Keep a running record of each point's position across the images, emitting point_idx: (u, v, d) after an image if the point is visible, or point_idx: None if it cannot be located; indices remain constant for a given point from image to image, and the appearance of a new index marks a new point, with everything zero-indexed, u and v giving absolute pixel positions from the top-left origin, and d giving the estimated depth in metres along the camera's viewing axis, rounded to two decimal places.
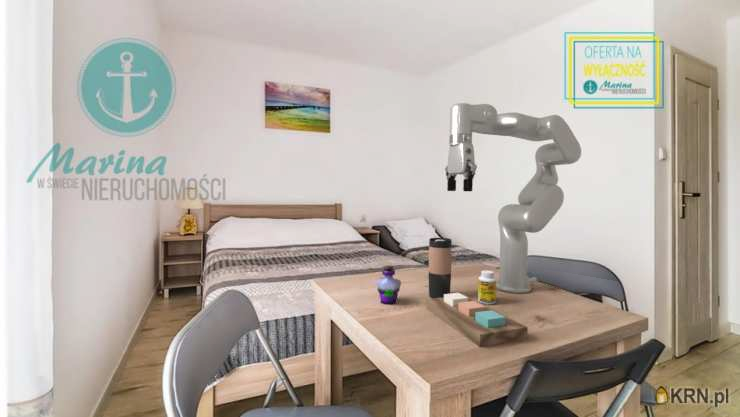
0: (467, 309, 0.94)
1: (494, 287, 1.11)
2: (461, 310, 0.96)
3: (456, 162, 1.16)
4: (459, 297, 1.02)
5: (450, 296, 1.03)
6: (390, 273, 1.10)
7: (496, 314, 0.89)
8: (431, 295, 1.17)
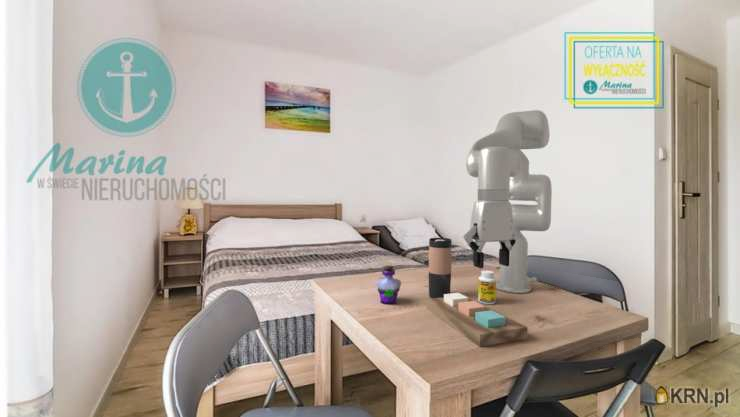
0: (467, 309, 0.94)
1: (494, 287, 1.11)
2: (461, 310, 0.96)
3: (503, 226, 0.85)
4: (459, 297, 1.02)
5: (450, 296, 1.03)
6: (390, 273, 1.11)
7: (496, 314, 0.89)
8: (431, 295, 1.17)
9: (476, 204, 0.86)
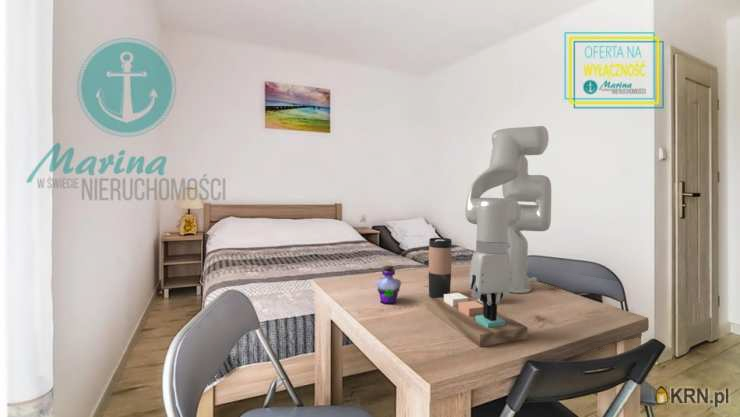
0: (467, 309, 0.94)
1: None
2: (461, 310, 0.96)
3: (502, 278, 0.86)
4: (459, 297, 1.02)
5: (450, 296, 1.03)
6: (390, 273, 1.10)
7: (496, 318, 0.89)
8: (431, 295, 1.17)
9: (475, 256, 0.86)
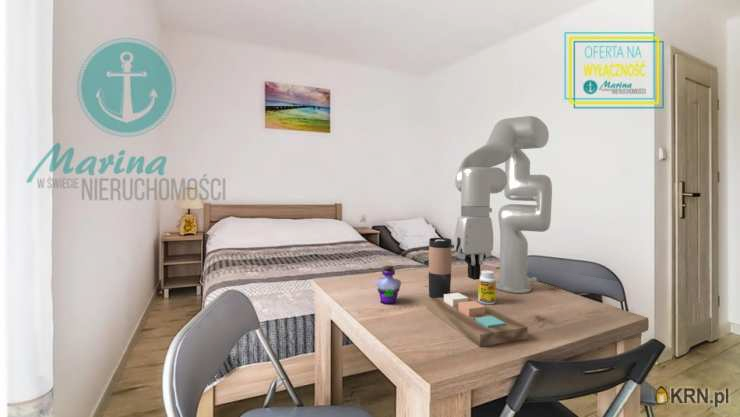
0: (467, 309, 0.94)
1: (494, 287, 1.11)
2: (461, 310, 0.96)
3: (484, 240, 0.93)
4: (459, 297, 1.02)
5: (450, 296, 1.03)
6: (390, 273, 1.10)
7: (496, 320, 0.89)
8: (431, 295, 1.17)
9: (460, 220, 0.93)
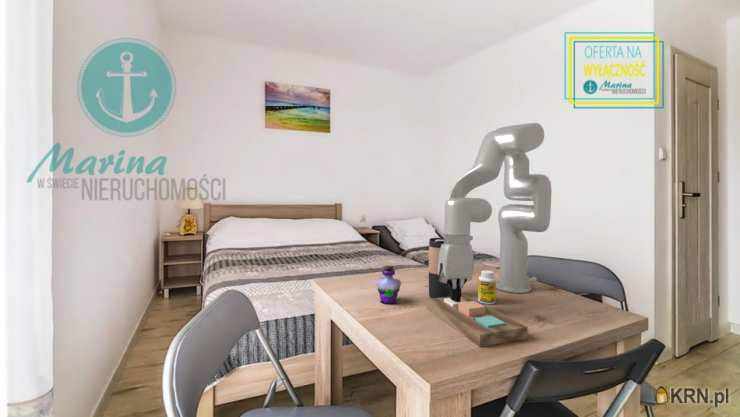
0: (467, 309, 0.94)
1: (494, 287, 1.11)
2: (461, 310, 0.96)
3: (465, 266, 1.01)
4: None
5: (450, 300, 1.03)
6: (390, 273, 1.10)
7: (496, 320, 0.89)
8: (431, 295, 1.17)
9: (442, 247, 1.02)
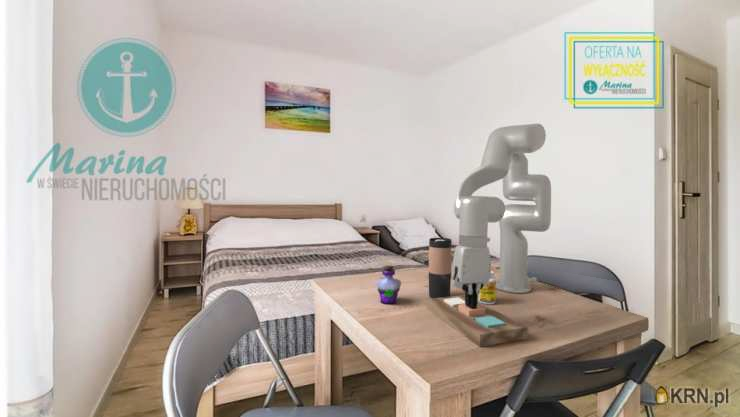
0: (467, 311, 0.94)
1: (494, 287, 1.11)
2: None
3: (482, 270, 0.93)
4: (459, 302, 1.02)
5: (450, 301, 1.03)
6: (390, 273, 1.10)
7: (496, 320, 0.89)
8: (431, 295, 1.17)
9: (457, 249, 0.94)
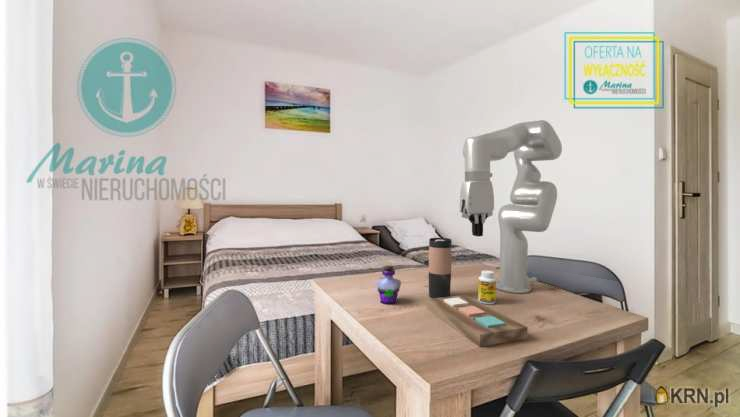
0: (467, 314, 0.94)
1: (494, 287, 1.11)
2: None
3: (486, 201, 1.05)
4: (459, 302, 1.02)
5: (450, 301, 1.03)
6: (390, 273, 1.10)
7: (496, 320, 0.89)
8: (431, 295, 1.17)
9: (464, 184, 1.05)
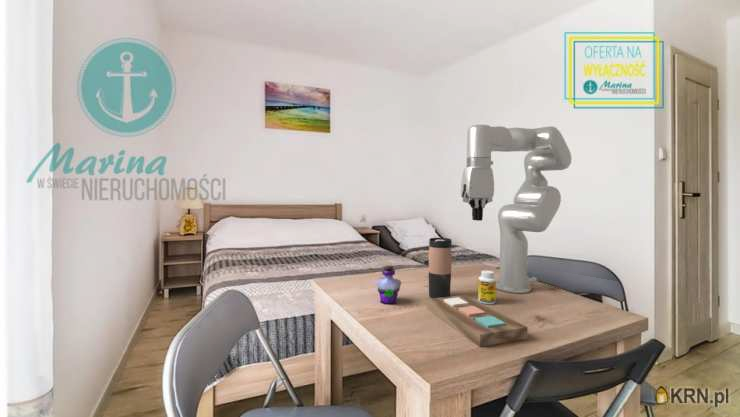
0: (467, 314, 0.94)
1: (494, 287, 1.11)
2: None
3: (486, 186, 1.10)
4: (459, 302, 1.02)
5: (450, 301, 1.03)
6: (390, 273, 1.11)
7: (496, 320, 0.89)
8: (431, 295, 1.17)
9: (465, 169, 1.11)
